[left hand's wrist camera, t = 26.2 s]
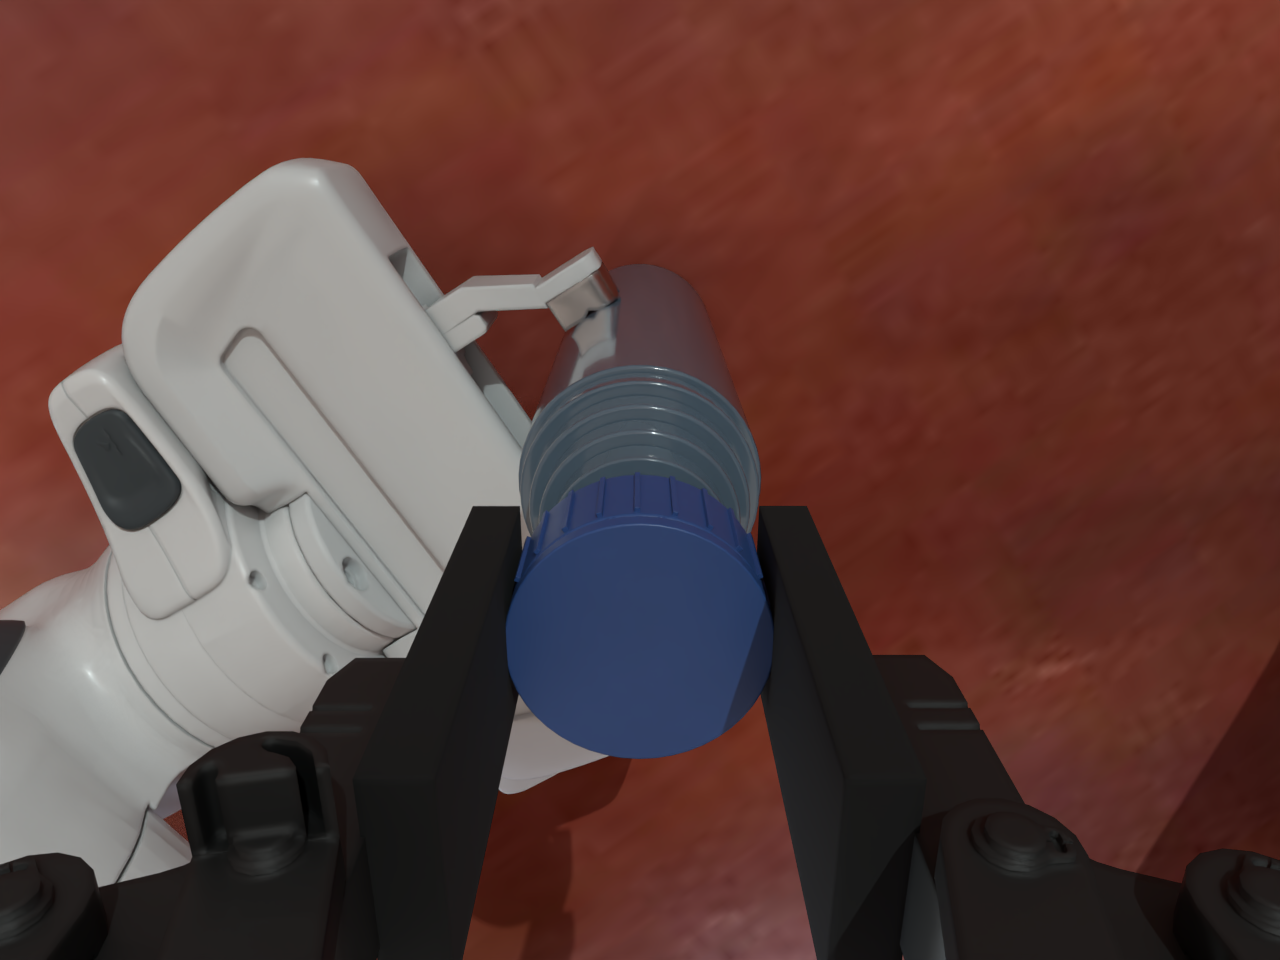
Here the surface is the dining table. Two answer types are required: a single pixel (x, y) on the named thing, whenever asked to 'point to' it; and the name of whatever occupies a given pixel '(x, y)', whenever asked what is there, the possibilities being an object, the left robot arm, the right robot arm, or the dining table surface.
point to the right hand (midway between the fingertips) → (665, 364)
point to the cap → (639, 618)
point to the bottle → (641, 402)
